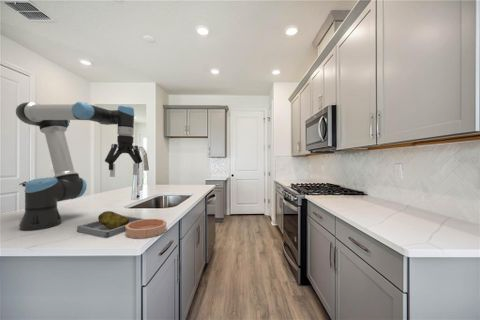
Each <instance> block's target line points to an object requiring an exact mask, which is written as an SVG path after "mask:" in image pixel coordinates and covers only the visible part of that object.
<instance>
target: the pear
mask: <svg viewBox="0 0 480 320" xmlns="http://www.w3.org/2000/svg"><path fill="white" fill-rule="evenodd" d="M125 216H126V215H122V214H119V213H117V212H114V211H111V210H110V211H109V210H107V211H104V212H102V213H100V214H99V215H98V217H97V219H98V220H97V221H99V222H100V223H101V224H102V225H101V226H103V227H104V226H105V227H108V228H109V229H115V228H118V227H121V226H124V225H127V224H128V223H130V222H129V219H128V218H127V217H125Z"/></svg>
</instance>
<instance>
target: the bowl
mask: <svg viewBox="0 0 480 320" xmlns="http://www.w3.org/2000/svg"><path fill="white" fill-rule="evenodd" d="M142 219H143V220H137V221H134V222H129V223H128V224H127V225H126V226H125V232H124V233H125V236H126V237H127V238H130V239H149V238H148V237H150V238H153V237H157V236H161V235H163V234H164V233H165V232H166V230H167V221H166V220H165V219H160V218H142Z"/></svg>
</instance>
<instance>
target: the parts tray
mask: <svg viewBox="0 0 480 320" xmlns="http://www.w3.org/2000/svg"><path fill="white" fill-rule="evenodd" d="M124 216H125V217H127V218H128V219H129V223H131V222H134V221H137V220H143V219H144V218H141V217H135V216H129V215H128V216H127V215H124ZM100 226H103V225H102V224H101V223H100V222H99V220H95V221H93V222H88V223H86V224H85V223H84V224H80V225H78V226H77V227H76V228H77V229H76V232H77V233H81V234H86V235H90V236H95V237H100V238H104V239H109V238H110V237H114V236H116V235H119V234H122V233H125V226H126V225H124V226H121V227H118V228H115V229H113V228H111V229H108V230H104V229H99V228H98V227H100Z"/></svg>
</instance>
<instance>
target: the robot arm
mask: <svg viewBox="0 0 480 320" xmlns="http://www.w3.org/2000/svg"><path fill="white" fill-rule="evenodd" d="M15 115H16V117H17V118H18V119H19V120H20V121H21V122H23V123H24V124H27V125H30V126H35V127H36V126H37V127H39V132H41V133H43V134H44V136H45V141H46V144H47V148H48V152H49V156H50V160H51V164H52V169H53V172H54V175H53V177H51V176H50V177H40V178H36V179H35V178H34V179H31V180H28V181H27V182H26V183H25V187H24V214H23V216H22V218H21V221H20V222H19V230H21V231H36V230H43V229H44V230H45V229H49V228H52V227H57V226H58V225H60V224H62V216H61V214H60V212H59V209H58V202H62V201H67V200H75V199H77V198H80V197H81V198H82V196H84V194H85V192H86V191H87V185H88V184H87V181H86V180H85V179H83V177H80V174H79V173H78V172H77V171H75V169H74V164H73V160H72V157H71V153H70V149H69V145H68V141H67V138H66V137H67V136H66V134H65V133H66V131H67V130H68V128H69V126H70V123H71V121H90V122H96V123H98V124H100V125H105V126H107V125H110V126H111V125H117V131H116V132H117V133H116V134H117V137H116V138H117V141H116V142H117V143H112V144H111V147H110V149H109V152H108V153H107V156H106V158H105V159H104V162H105V163H107V164H108V170H109V177H112V178H115V177H116V163H115V162H116V161H117V159H118V158H119V157H120V156H121V155H122V154H128V155H129V157H131V159H132V161H133V163H132V164H133V167H132V168H133V169H132V170H133V171H132V173H133V174H132V175H133V176H139V168H140V164H141V163H142V162H143V159H142V157H141V154H140V151H139V146H138V145H133V144H134V139H135V138H134V135H135V134H134V132H135V129H134V128H135V127H134V125H135V109H134V107H132V106H130V105H125V104H123V105H118V108H117V110H115V109H112V110H111V109H107V108H103V107H99V106H96V105H93V104H90V103H88V102H82V101H78V102H75V103H73V104H69V103H67V104H65V103H64V104H63V103H62V104H54V103H53V104H40V103H38V102H23V103H20V104H19V105H17V106H16V109H15Z"/></svg>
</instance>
